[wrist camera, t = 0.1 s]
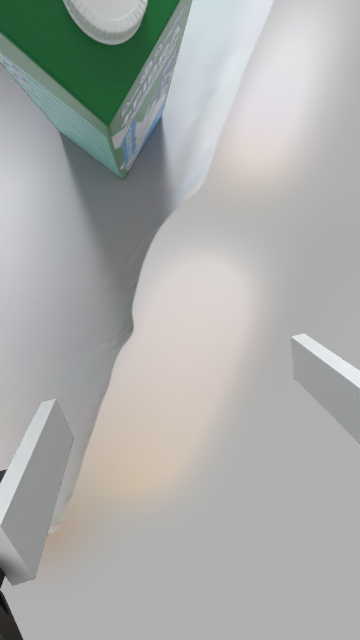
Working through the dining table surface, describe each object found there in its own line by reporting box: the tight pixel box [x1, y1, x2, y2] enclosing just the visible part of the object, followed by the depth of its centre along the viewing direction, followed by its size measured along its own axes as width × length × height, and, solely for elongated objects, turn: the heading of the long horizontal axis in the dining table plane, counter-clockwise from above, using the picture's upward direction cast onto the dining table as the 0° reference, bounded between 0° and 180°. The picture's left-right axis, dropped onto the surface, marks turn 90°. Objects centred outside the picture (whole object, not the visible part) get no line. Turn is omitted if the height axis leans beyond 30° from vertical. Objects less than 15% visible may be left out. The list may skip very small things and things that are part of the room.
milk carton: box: [0, 0, 192, 179], centre depth 23 cm, size 9×9×25 cm
